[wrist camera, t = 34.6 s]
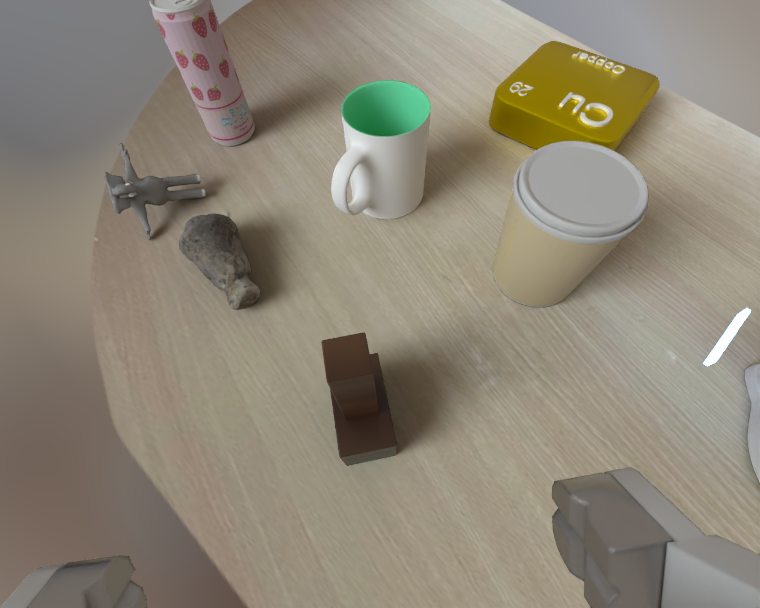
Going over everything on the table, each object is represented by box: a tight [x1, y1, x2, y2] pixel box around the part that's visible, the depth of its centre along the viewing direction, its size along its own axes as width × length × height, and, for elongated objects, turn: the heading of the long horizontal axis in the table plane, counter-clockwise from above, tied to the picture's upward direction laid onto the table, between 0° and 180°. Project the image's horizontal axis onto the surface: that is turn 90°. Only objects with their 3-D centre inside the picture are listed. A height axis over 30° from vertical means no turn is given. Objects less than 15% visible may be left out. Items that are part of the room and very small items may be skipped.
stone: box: [179, 214, 260, 310], centre depth 38 cm, size 10×5×8 cm
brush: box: [322, 333, 397, 466], centre depth 26 cm, size 7×4×14 cm, turn 11°
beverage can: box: [150, 0, 255, 146], centre depth 44 cm, size 6×6×15 cm
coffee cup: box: [493, 141, 649, 307], centre depth 33 cm, size 9×9×12 cm
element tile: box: [489, 41, 659, 151], centre depth 47 cm, size 15×15×5 cm
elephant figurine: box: [105, 143, 206, 240], centre depth 42 cm, size 10×6×9 cm
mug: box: [331, 80, 431, 219], centre depth 39 cm, size 12×8×10 cm, turn 148°
